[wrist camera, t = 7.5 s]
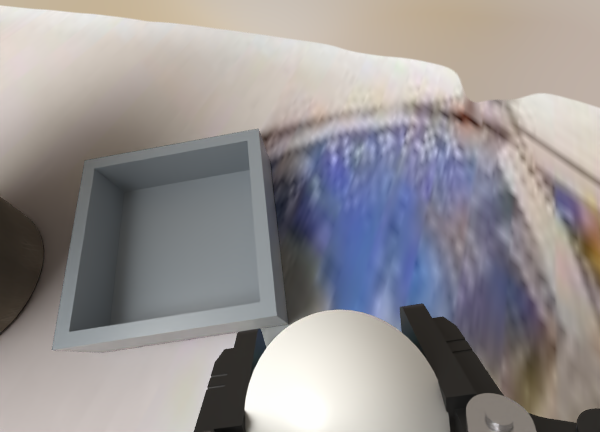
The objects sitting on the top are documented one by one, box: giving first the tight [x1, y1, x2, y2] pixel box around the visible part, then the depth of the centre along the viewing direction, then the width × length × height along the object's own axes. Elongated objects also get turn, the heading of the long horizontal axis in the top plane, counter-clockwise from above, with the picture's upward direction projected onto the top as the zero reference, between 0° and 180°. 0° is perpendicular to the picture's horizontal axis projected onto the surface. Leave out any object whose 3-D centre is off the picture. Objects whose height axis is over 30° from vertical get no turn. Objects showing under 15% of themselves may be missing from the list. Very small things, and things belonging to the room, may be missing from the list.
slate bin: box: [52, 129, 288, 353], centre depth 32 cm, size 18×18×6 cm
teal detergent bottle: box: [244, 310, 450, 432], centre depth 13 cm, size 5×5×11 cm
